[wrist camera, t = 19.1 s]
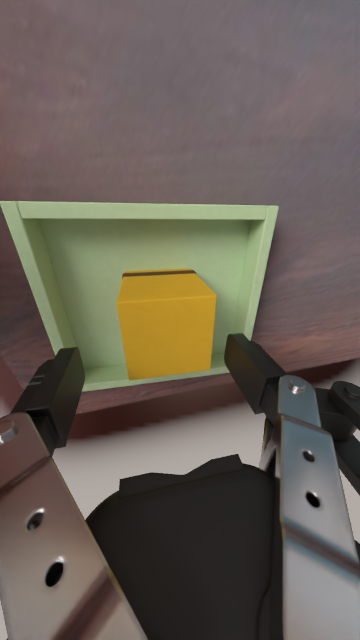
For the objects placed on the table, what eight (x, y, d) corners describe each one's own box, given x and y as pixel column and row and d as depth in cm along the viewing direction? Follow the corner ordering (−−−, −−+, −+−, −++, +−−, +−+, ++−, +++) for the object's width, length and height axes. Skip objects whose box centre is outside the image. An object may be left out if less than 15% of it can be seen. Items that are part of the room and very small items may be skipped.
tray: (76, 372, 18) (68, 393, 16) (23, 203, 12) (-2, 200, 10) (233, 354, 21) (244, 370, 19) (258, 207, 15) (279, 205, 12)
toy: (131, 330, 17) (128, 381, 12) (123, 270, 14) (114, 301, 9) (189, 324, 18) (211, 370, 12) (191, 267, 15) (218, 294, 10)
